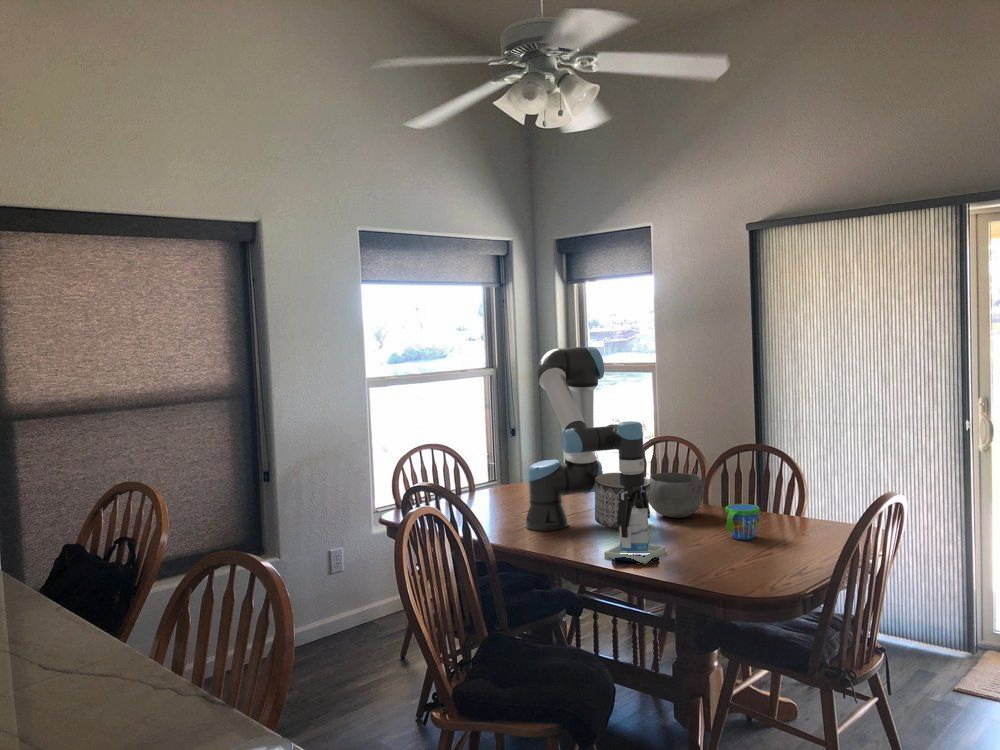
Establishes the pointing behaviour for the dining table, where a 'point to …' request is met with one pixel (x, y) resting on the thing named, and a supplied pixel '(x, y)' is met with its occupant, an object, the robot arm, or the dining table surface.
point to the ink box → (638, 530)
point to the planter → (610, 498)
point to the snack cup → (742, 520)
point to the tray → (652, 549)
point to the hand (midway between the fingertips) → (634, 543)
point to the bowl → (676, 494)
